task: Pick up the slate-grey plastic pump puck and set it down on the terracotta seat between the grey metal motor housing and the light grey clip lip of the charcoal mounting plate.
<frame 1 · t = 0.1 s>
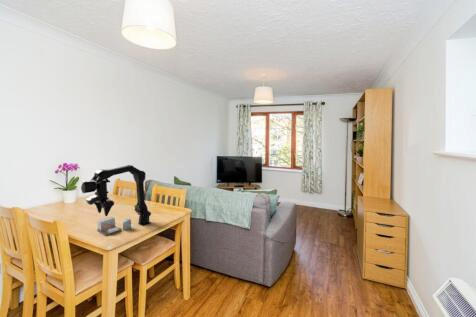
hand: (102, 214, 145), 14 cm above the table, fingers open, 9 cm apart
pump: (127, 228, 158), on the table
motor mount: (109, 230, 155), on the table
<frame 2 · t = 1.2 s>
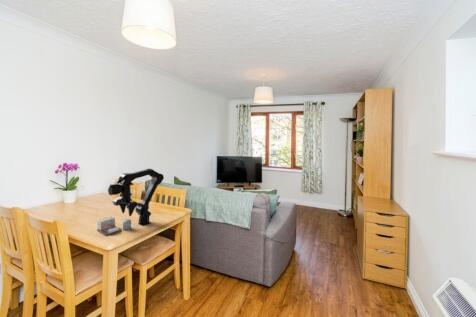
hand: (126, 214, 157), 10 cm above the table, fingers open, 9 cm apart
nothing on the table moved.
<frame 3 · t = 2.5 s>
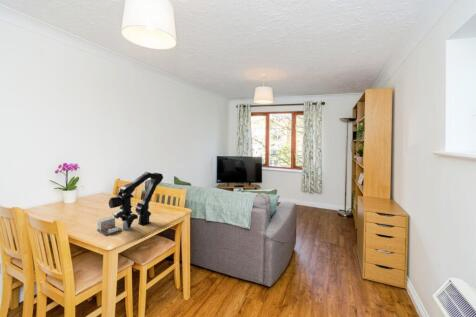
hand: (127, 226, 158), 2 cm above the table, fingers closed on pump, 5 cm apart
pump: (127, 228, 158), on the table, touching gripper
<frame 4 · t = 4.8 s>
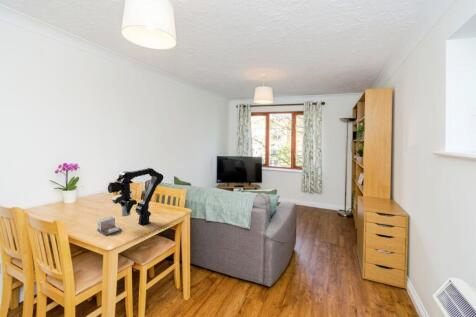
hand: (126, 212, 157), 11 cm above the table, fingers closed on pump, 5 cm apart
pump: (126, 214, 157), point 10 cm above the table, touching gripper
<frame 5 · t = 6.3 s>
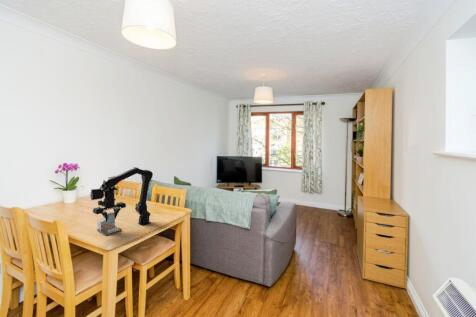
hand: (110, 220, 153), 8 cm above the table, fingers closed on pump, 5 cm apart
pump: (110, 222, 153), point 6 cm above the table, touching gripper
when the fingers open (4 cm above the table, at t = 7.3 s): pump drops 1 cm, resting on motor mount.
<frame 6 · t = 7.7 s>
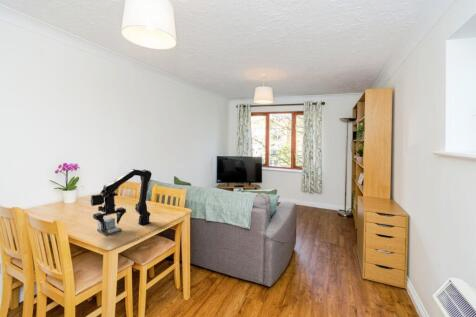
hand: (110, 225, 153), 4 cm above the table, fingers open, 9 cm apart
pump: (110, 229, 153), point 1 cm above the table, touching motor mount
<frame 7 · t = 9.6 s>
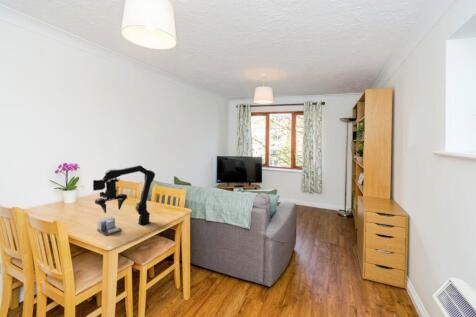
hand: (112, 211, 156), 13 cm above the table, fingers open, 9 cm apart
nothing on the table moved.
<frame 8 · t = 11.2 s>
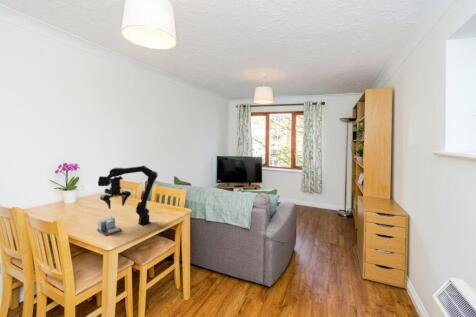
hand: (116, 207, 163), 13 cm above the table, fingers open, 9 cm apart
nothing on the table moved.
at the end: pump 0.1 cm from the target spot on the motor mount, point 1.3 cm above the motor mount's base; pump tilted 0°; the gripper is holding nothing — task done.
